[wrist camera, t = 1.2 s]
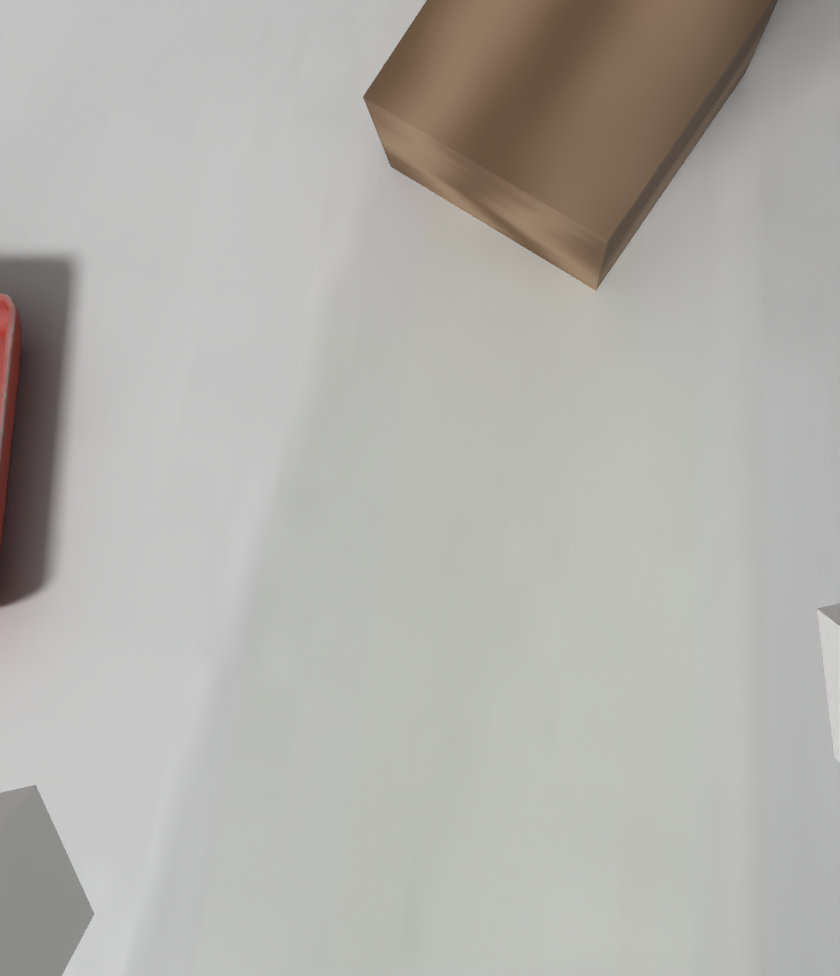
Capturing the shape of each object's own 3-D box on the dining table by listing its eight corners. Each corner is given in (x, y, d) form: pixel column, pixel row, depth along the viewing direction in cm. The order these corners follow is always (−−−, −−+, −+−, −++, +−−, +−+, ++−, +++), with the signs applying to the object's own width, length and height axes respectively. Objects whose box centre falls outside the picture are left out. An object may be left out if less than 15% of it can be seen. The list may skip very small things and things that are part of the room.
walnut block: (742, 77, 33) (787, -23, 27) (595, 292, 34) (607, 240, 28) (528, -35, 35) (526, -150, 29) (392, 169, 36) (363, 96, 30)
